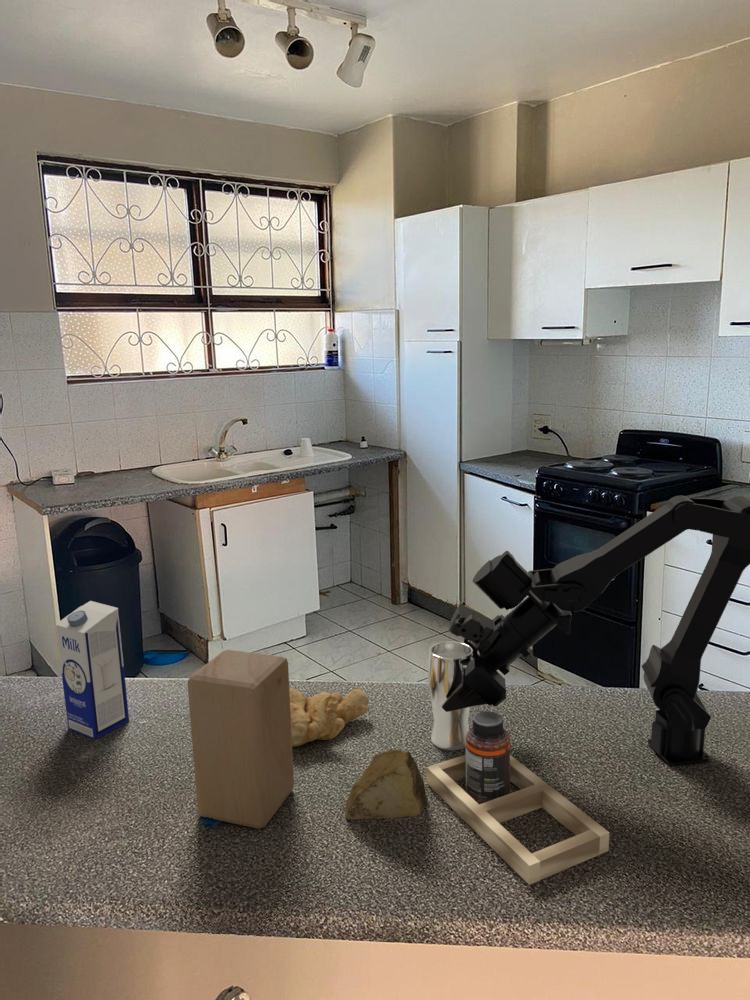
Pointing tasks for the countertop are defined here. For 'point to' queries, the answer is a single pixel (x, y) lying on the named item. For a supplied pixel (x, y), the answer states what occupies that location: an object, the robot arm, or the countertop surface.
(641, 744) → the countertop surface
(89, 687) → the milk carton
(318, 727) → the ginger root
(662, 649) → the robot arm
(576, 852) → the divided wooden frame
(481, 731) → the supplement bottle
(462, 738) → the beer glass
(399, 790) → the rock
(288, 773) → the wooden block
